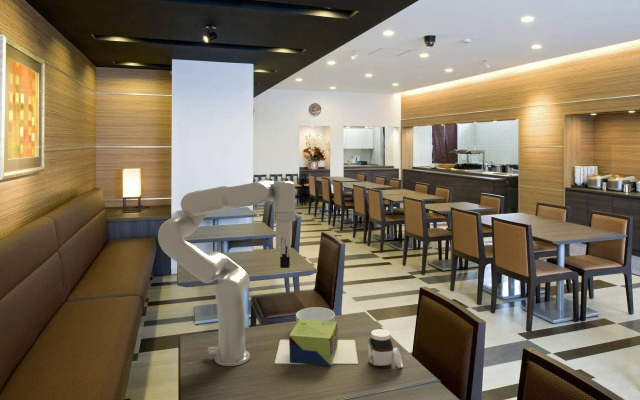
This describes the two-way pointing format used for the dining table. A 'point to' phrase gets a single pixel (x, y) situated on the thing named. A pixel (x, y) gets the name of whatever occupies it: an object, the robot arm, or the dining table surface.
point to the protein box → (313, 342)
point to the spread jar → (382, 350)
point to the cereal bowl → (315, 314)
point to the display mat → (342, 356)
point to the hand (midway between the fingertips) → (285, 267)
